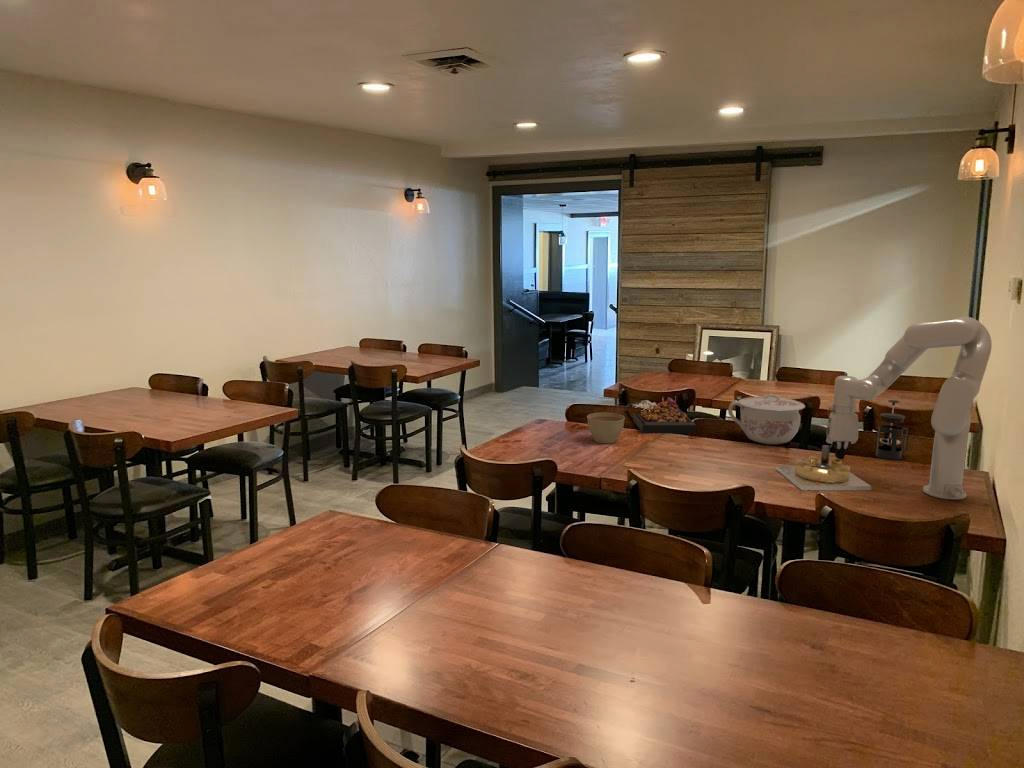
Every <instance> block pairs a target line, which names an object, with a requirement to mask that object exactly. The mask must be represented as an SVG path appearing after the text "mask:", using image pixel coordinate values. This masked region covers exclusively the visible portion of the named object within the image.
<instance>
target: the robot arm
mask: <svg viewBox="0 0 1024 768" xmlns="http://www.w3.org/2000/svg"><path fill="white" fill-rule="evenodd" d="M958 346H959V347H960V349H959V352H958V356H957V358H956V361H955V364H954V368H953V370H952V373H951V374H950V377H948V378H946V380H945V381H944V382H943V383H942V386H941V388H940V391H939V393H938V396H937V400H936V402H935V405H934V408H933V411H932V415H931V419H930V423H931V427H932V429H933V430H934V438H933V446H932V453H931V454H932V455H931V462H930V464H931V465H930V473H929V482H928V485H924V486H923V487H922V492H924V493H925V494H926V495H928V496H931V497H933V498H939V499H943V500H953V501H955V500H959V501H960V500H963V499H966V498H967V492H966V491H964V490H963V487H964V485H963V479H964V470H965V462H966V453H967V447H968V440H969V433H970V428H971V422H972V414H971V408H972V405H973V402H974V399H975V398H976V397H977V396H978V394H979V393H980V389H981V387H982V386H981V385H982V381H983V379H984V375H985V373H986V369H987V366H988V362H989V361H990V357H991V352H992V348H993V347H992V337H991V334H990V333H989V330H988V329H987V328H986V326H985V325H984V324H983V323H981V322H980V321H979V320H977V319H975V318H973V317H970V316H961V317H956V318H954V319H951V320H942V321H941V320H940V321H932V322H930V321H918V322H914V323H913V324H911V325H909V326H908V327H907V328H906V329H905V332H904V334H903V335H902V336H901V338H899V340H897V342H896V343H894V345H893V346H892V347H890V348H889V350H888V351H886V353H885V356H884V359H883V360H882V362H880V364H879V365H878V366H877V367H876V368H875V369H874V370H873V371H872V372H871V373H870V374H869V375H868V376H867V377H865V378H863V379H857V377H855V376H851V375H838V376H837V377H836V378H835V380H834V389H833V400H832V401H833V402H832V406H829V407H828V409H829V410H828V411H831V412H830V414H829V416H828V417H829V418H828V421H827V424H826V425H827V426H826V433H825V434H826V435H825V437H826V440H825V442H826V443H827V444H831V445H833V446H834V448H835V451H834V456H835V459H837V460H845V456H846V450H847V449H848V447H849V446H850V445H852V444H857V441H859V440H858V439H859V418H858V417H859V415H858V414H857V413H856V407H857V406H856V405H857V399H858V400H862V401H872V400H873V399H876V398H877V397H879V396H880V395H882V394H883V393H885V392H886V390H887V389H888V388H889V387H890V386H891V385H893V383H894V382H896V380H897V379H898V378H899V377H900V376H901V375H902V374H904V372H906V371H907V370H908V369H909V368H910V366H912V365H913V364H914V363H915V362H916V361H917V360H918V358H920V357H921V356H922V355H923V354H924V353H925V352H926V351H927V350H928V349H939V348H946V347H947V348H950V347H958Z"/></svg>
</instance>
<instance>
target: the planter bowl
mask: <svg viewBox="0 0 1024 768" xmlns="http://www.w3.org/2000/svg"><path fill="white" fill-rule="evenodd" d="M625 418H626V417H625V416H624V415H622V414H619V413H613V412H594V413H590V414H589V413H588V415H587V416H586V419H587V426H588V430H589V432H590V434H591V436H592V437H593V441H594V442H595V443H599V444H614V443H616V442H617V439H618V438H619V437H620V435H621V433H622V431H623V429H624V425H625V420H626V419H625Z"/></svg>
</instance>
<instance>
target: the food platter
mask: <svg viewBox="0 0 1024 768" xmlns="http://www.w3.org/2000/svg"><path fill="white" fill-rule="evenodd" d="M666 399H667V400H666ZM666 399H664V397H662V399H661V400H662V401H661V402H659V403H657V402H656V401H655V402H651V401H650V400H647V399H645V400H641V401H640V402H634V403H633V402H631V403H627V405H626V408H627V407H635V408H644V409H643V410H641V413H640V414H638V413H633V419H632V421H633V420H634V421H633V422H634V423H635V426H636V427H637V428H638V429H639V431H640V432H641V434H697V431H698V429H697V428H698V426H697V424H696V423H695V422H694V421H693V420H692V419H691V418H690V417H689V416H688V415H687V413H685V412H684V411H682V409H680V407H679V406H678V404H677V403H676V402H677V396H675V397H674V400H673V398H671V397H667V398H666ZM645 409H647V410H650V413H649V411H648V413H647V411H646V410H645Z"/></svg>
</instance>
